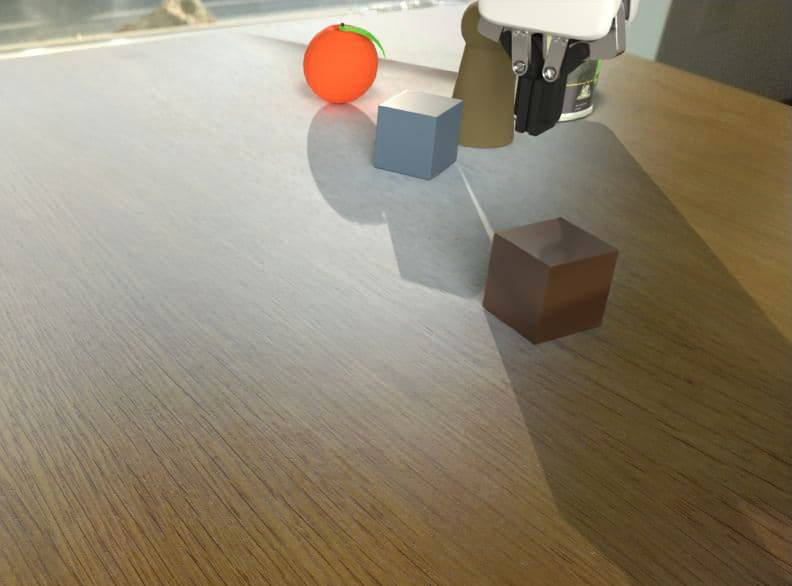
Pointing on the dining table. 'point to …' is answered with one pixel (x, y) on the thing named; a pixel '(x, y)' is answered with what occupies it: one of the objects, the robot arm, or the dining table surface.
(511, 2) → the robot arm
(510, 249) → the copper block
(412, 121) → the slate block
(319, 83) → the clementine
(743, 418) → the dining table surface
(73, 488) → the dining table surface
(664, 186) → the dining table surface
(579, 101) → the coffee can
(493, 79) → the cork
